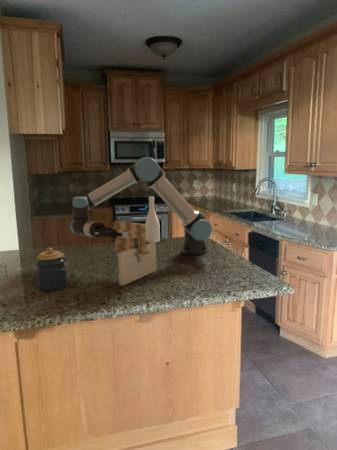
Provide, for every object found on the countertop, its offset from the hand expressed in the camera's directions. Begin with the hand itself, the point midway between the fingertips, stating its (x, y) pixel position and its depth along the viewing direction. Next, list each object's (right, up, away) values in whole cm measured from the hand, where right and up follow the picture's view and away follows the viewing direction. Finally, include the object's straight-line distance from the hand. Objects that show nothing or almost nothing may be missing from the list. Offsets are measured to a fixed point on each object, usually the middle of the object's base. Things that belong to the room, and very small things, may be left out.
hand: (130, 234), depth 158 cm
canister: (-33, -23, -8) cm, 41 cm away
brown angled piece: (0, -8, +2) cm, 8 cm away
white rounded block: (+7, -7, +71) cm, 71 cm away
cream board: (+4, -20, +2) cm, 20 cm away
